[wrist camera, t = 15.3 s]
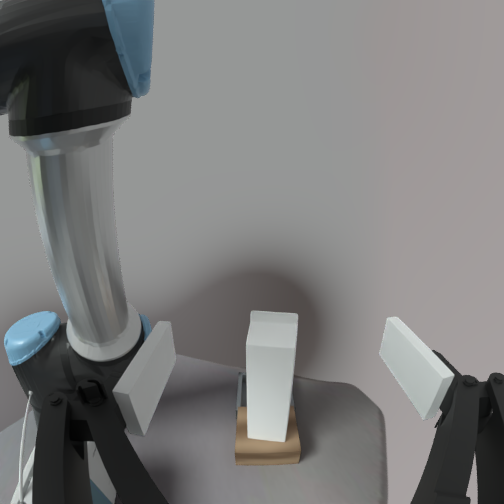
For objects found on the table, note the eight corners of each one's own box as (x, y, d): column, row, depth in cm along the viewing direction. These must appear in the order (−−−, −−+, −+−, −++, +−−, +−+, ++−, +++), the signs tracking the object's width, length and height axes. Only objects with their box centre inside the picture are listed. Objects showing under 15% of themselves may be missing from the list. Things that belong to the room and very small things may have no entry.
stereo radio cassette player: (113, 579, 8) (18, 534, 3) (59, 561, 6) (-40, 493, 2) (124, 476, 28) (77, 390, 23) (81, 468, 27) (28, 380, 22)
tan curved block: (298, 463, 34) (301, 451, 33) (236, 465, 34) (234, 452, 33) (291, 419, 44) (293, 405, 43) (238, 420, 44) (238, 406, 43)
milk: (254, 414, 42) (254, 301, 37) (289, 417, 40) (299, 303, 36) (247, 439, 36) (244, 320, 31) (285, 443, 35) (297, 324, 30)
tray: (293, 419, 44) (295, 409, 44) (236, 420, 44) (235, 410, 44) (287, 382, 56) (288, 371, 55) (239, 382, 56) (238, 372, 55)
